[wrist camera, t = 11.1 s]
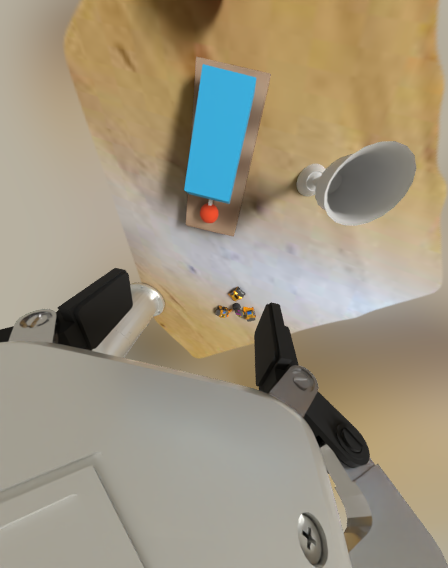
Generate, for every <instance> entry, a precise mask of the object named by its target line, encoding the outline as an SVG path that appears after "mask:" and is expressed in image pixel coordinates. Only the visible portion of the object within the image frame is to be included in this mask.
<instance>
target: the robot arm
mask: <svg viewBox="0 0 448 568" xmlns="http://www.w3.org/2000/svg"><path fill="white" fill-rule="evenodd" d="M164 306H165V303H164V299H163V297H162V296H161V294H160V293H159V292H158V291H157V290H156V289H155V288H153V287H151V286H149V285H147V284H144V283H133V284H130V281H129V275H128V273H126V271H125V270H122V269H118V268H114V269H113V270H111V271H110V272H108V273H107V274H106V275H104V276H103V277H101V278H100V279H98V280H97V281H95V282H94V283H92V284H91V285H90V286H88V287H87V288H85V289H84V290H82V291H81V292H80V293H78V294H76V295H75V296H74V297H72V298H71V299H69V300H68V301H66V302H65V303H63V304H62V305H61V306H59V307H58V309H59V310H58V311H57V312H55V311H53V310H50V309H42V310H36V311H33V312H30V313H28V314H25V315H24V316H22V317H21V318H19V319H18V320H17V321H16V323H15V325H14V326H13V327H9V328H5V329H1V330H0V568H448V565H447V563H446V560H445V558H444V556H443V554H442V552H441V550H440V548H439V547H438V545H437V544H436V542H435V540H434V539H433V537H432V536H431V535H430V533H429V532H428V531H427V529H426V528H425V527H424V525H423V524H422V523H421V521H420V520H419V519H418V517H417V516H416V515H415V513H414V512H413V510H412V509H411V508H410V507H409V505H408V504H407V502H406V501H405V500H404V498H403V497H402V496H401V494H400V493H399V492H398V490H397V489H396V487H395V486H394V485H393V484H392V482H391V481H390V479H389V478H388V477H387V475H386V474H385V473H384V471H383V470H382V469H381V467H380V466H379V465H378V464H376V465H375V464H374V463H373V461H372V460H371V458H370V454H369V449H368V446H367V444H366V442H365V440H364V438H363V437H362V435H361V434H360V433H359V431H358V430H357V429H356V428H355V427H354V426H353V425H352V424H351V423H350V422H349V421H348V420H347V419H346V418H345V417H344V416H342V415H341V413H340V412H339V411H337V410H336V409H335V408H334V407H333V406H332V405H331V404H330V403H329V402H328V401H327V400H326V399H325V398H324V397H323V396H322V395H321V394H320V393H319V392H318V383H317V380H316V378H315V377H314V376H313V374H312V373H311V372H310V371H309V370H307V369H306V368H304V367H301V366H299V365H298V362H297V358H296V354H295V350H294V346H293V342H292V338H291V334H290V330H289V328H288V327H287V326H284V321H283V317H282V313H281V308H280V305H279V304H275V303H270V304H267V305H266V307H265V309H264V311H263V314H262V316H261V319H260V321H259V323H258V326H257V328H256V331H255V335H254V339H255V371H256V386H259V390H256V389H253V388H249V387H246V386H242V385H238V384H234V383H230V382H226V381H222V380H218V379H214V378H209V377H205V376H201V375H197V374H192V373H188V372H184V371H179V370H175V369H171V368H166V367H162V366H157V365H153V364H149V363H144V362H140V361H135V360H131V359H127V358H124V357H125V356H126V354H127V353H128V351H129V350H130V348H131V347H132V345H133V344H134V343H135V341H136V340H137V338H138V337H139V335H140V334H141V332H142V331H143V330H144V328H145V327H146V326H148V324H149V321H150V319H151V318H152V317H153V316H157V315H159V314H160V313H161V312H162V311H163V309H164ZM328 474H330V476H331V478H332V479H333V481H334V483H335V485H336V487H335V489H336V491H337V493H338V495H339V496H340V498H341V500H342V503H343V505H344V507H345V510H346V515H347V528H346V530H345V532H344V533H343V529H342V525H341V521H340V518H339V513H338V510H337V506H336V502H335V498H334V494H333V490H332V487H331V483H330V480H329V477H328ZM301 514H302V515H301Z"/></svg>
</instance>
